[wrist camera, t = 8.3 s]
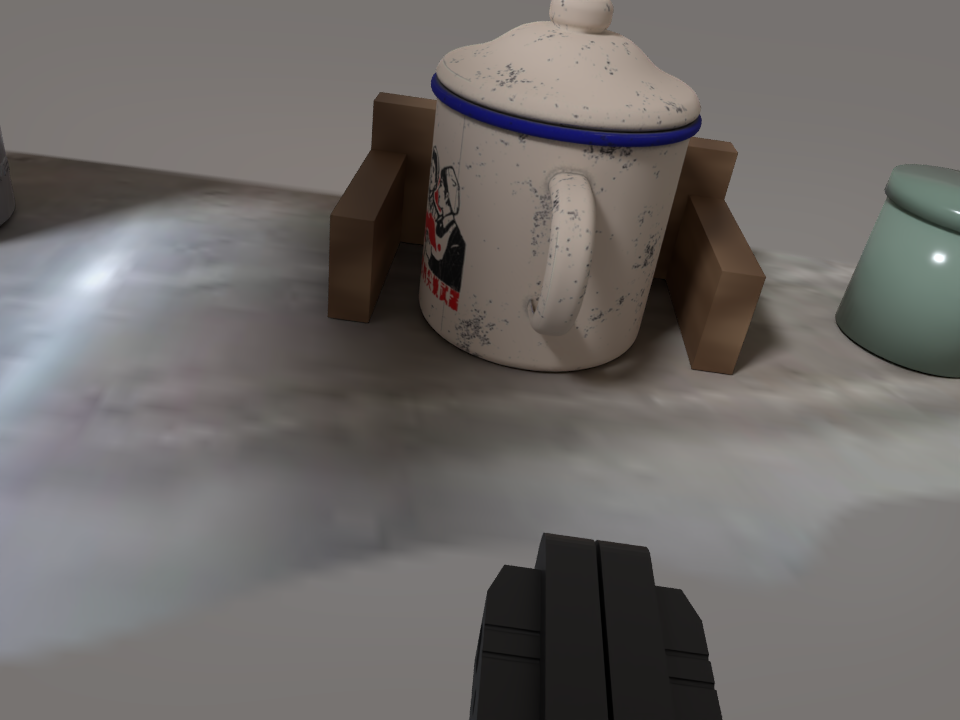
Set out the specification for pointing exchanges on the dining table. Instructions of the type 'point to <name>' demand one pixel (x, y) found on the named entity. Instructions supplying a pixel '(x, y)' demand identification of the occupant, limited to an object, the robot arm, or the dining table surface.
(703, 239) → the walnut cup holder
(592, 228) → the teacup with lid
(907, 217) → the green ceramic sugar pot
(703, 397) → the dining table surface
